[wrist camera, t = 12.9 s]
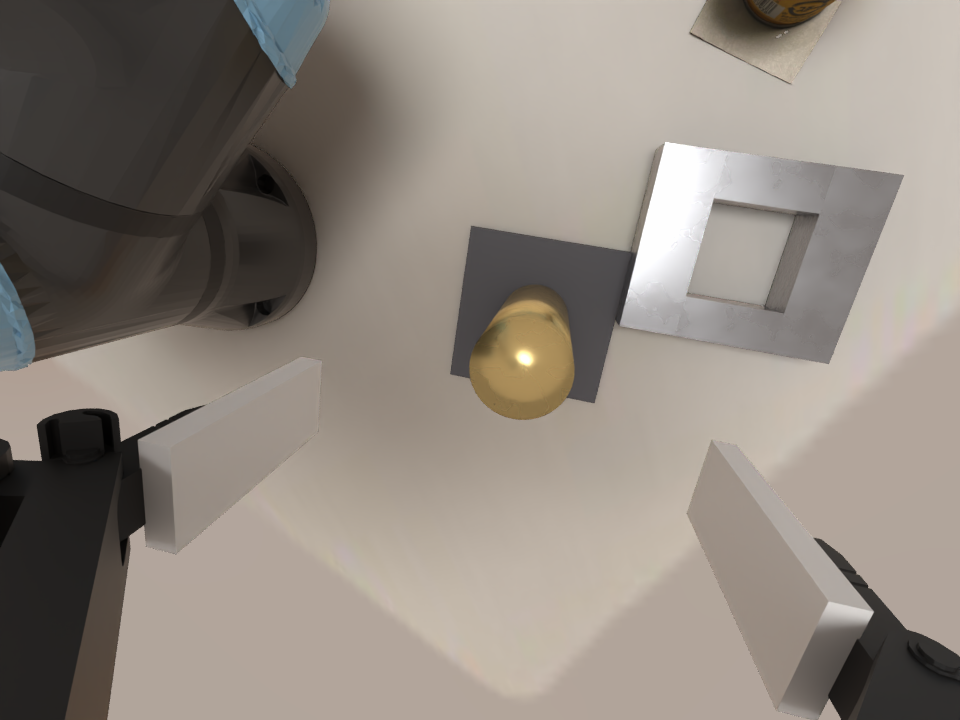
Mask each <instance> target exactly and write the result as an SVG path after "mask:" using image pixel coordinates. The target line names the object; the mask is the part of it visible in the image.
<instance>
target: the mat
mask: <svg viewBox="0 0 960 720" xmlns="http://www.w3.org/2000/svg"><path fill="white" fill-rule="evenodd" d="M630 257H631V252H626V251H620V250H614V249H608V248H602V247H596V246H589V245H583V244H577V243H571V242H565V241H559V240H553V239H547V238H541V237H535V236H529V235H522V234H516V233H510V232H504V231H498V230H492V229H486V228H480V227H474V226H471V232H470V239H469V246H468V253H467V260H466V267H465V274H464V281H463V288H462V295H461V302H460V309H459V316H458V323H457V330H456V337H455V345H454V352H453V359H452V366H451V373H450V374H452V375H457V376H462V377H467V378H470V372H469V365H470V358H471V354H472V351H473V349H474V347H475V345H476V343H477V341H478V340H479V339H480V337H481V336H482V334H483V333H484V331H485V330H486V329H487V327H488V326H489V324H490V323H491V321H492V320H493V318H494V317H495V316H496V314H497V313H498V311H499V310H500V308H501V307H502V305H503V304H504V303H505V301H506V300H507V298H508V297H509V296H510V295H511V294H512V293H513V292H514V291H515V290H517V289H519V288H521V287H523V286H527V285H535V284H536V285H543V286H546V287H549V288H551V289H553V290H554V291H555V292H557V293H558V294H559V295H560V296H561V298H562V299H563V301H564V302H565V305H566V307H567V311H568V318H569V327H570V335H571V343H572V351H573V360H574V368H575V370H574V381H573V384H572V388H571V390H570V392H569V394H568V396H567V397H566V398H571V399H576V400H581V401H586V402H591V403H595V399H596V395H597V391H598V387H599V383H600V379H601V375H602V370H603V366H604V362H605V358H606V354H607V350H608V346H609V342H610V338H611V334H612V330H613V326H614V322H615V318H616V314H617V310H618V305H619V301H620V297H621V293H622V289H623V285H624V281H625V277H626V273H627V269H628V265H629V261H630Z"/></svg>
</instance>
